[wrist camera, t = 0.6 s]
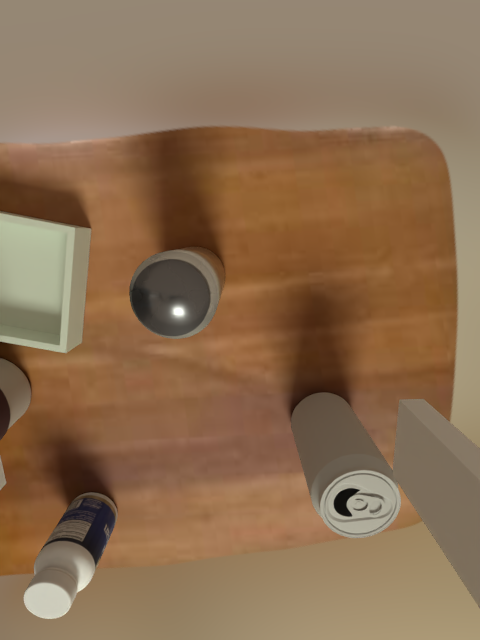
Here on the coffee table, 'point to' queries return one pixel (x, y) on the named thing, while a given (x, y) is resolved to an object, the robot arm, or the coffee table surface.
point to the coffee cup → (12, 395)
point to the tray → (42, 282)
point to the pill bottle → (70, 555)
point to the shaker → (177, 291)
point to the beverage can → (343, 467)
